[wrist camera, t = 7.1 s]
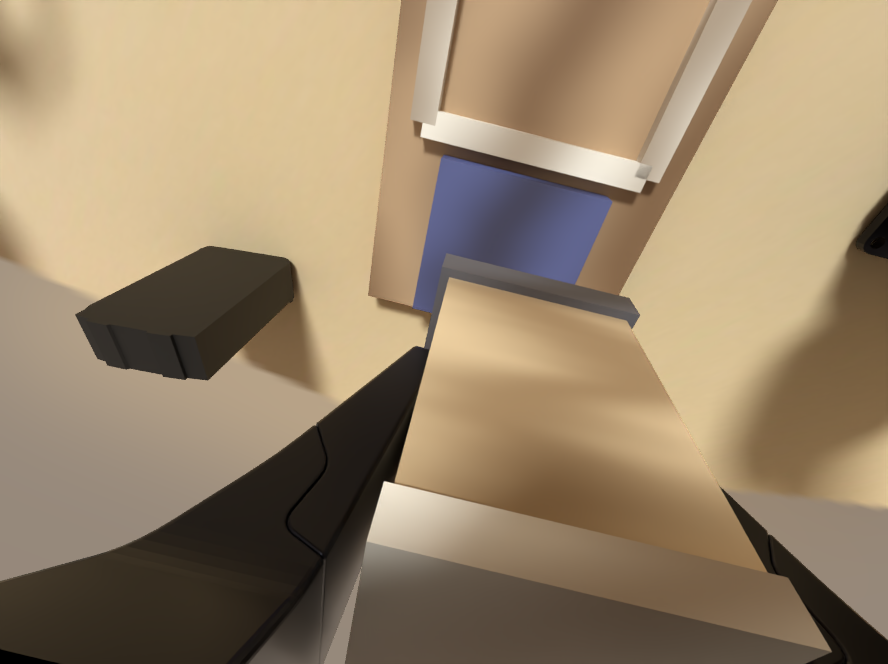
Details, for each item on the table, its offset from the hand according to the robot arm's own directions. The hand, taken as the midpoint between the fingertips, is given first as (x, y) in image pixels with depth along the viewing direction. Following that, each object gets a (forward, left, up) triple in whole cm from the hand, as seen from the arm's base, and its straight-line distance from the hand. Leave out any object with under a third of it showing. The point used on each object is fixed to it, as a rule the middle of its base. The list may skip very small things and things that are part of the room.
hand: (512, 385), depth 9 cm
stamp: (0, 0, -2) cm, 2 cm away
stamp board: (0, -4, -11) cm, 12 cm away
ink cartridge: (+13, +6, -12) cm, 18 cm away
